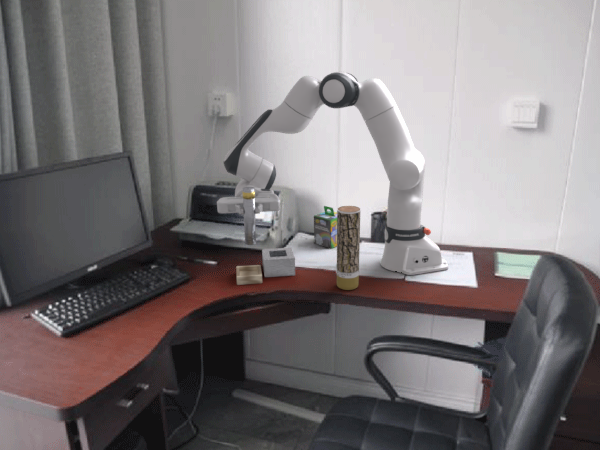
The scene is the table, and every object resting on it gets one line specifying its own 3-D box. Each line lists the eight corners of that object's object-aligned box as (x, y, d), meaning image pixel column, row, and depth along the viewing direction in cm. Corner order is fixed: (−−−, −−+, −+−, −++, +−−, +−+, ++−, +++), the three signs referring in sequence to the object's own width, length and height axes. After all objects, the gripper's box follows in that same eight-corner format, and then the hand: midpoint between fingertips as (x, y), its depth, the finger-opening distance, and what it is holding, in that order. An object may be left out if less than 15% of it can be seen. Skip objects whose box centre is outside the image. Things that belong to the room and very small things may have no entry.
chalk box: (347, 243, 192) (347, 206, 188) (330, 249, 186) (330, 211, 182) (329, 237, 199) (329, 201, 194) (313, 243, 193) (312, 206, 188)
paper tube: (357, 291, 152) (359, 212, 144) (335, 290, 153) (335, 211, 145) (359, 282, 158) (361, 206, 150) (338, 281, 159) (338, 205, 152)
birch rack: (260, 272, 167) (260, 264, 166) (262, 283, 158) (262, 275, 158) (236, 273, 166) (236, 266, 165) (236, 284, 157) (236, 277, 157)
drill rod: (256, 240, 162) (254, 186, 156) (256, 244, 158) (254, 189, 153) (244, 241, 161) (242, 186, 156) (244, 245, 158) (242, 189, 152)
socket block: (291, 263, 173) (291, 247, 172) (295, 275, 164) (294, 258, 162) (262, 265, 172) (262, 249, 170) (264, 277, 163) (263, 260, 161)
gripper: (216, 191, 166) (214, 203, 153) (277, 189, 169) (281, 200, 156) (217, 210, 168) (216, 222, 155) (278, 207, 171) (281, 219, 158)
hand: (249, 211), depth 156 cm, fingers closed on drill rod, 4 cm apart
